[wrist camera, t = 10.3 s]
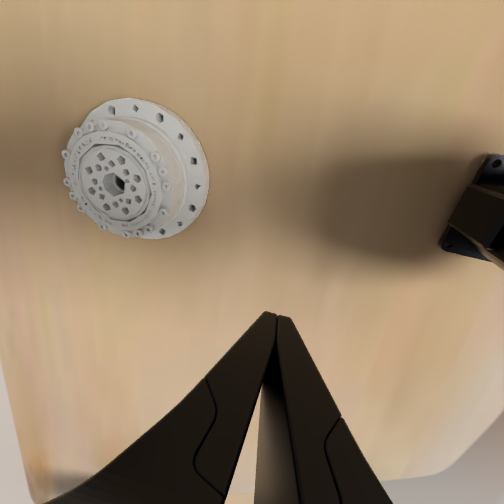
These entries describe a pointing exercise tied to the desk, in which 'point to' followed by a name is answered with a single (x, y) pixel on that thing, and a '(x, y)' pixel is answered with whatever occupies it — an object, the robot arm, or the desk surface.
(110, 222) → the mechanical component
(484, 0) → the desk surface
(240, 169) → the desk surface
